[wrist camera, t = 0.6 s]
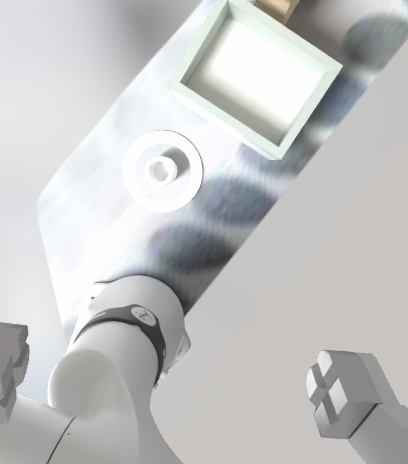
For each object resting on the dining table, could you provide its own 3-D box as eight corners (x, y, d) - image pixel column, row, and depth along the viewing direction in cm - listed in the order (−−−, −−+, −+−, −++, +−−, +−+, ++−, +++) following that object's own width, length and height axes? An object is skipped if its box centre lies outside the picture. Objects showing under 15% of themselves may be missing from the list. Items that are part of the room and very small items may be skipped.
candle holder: (166, 226, 60) (162, 231, 56) (108, 173, 59) (99, 174, 55) (219, 169, 58) (218, 169, 54) (159, 113, 57) (154, 109, 53)
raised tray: (269, 159, 57) (281, 159, 44) (180, 101, 56) (167, 85, 44) (317, 87, 55) (343, 65, 42) (225, 26, 54) (224, -15, 42)
